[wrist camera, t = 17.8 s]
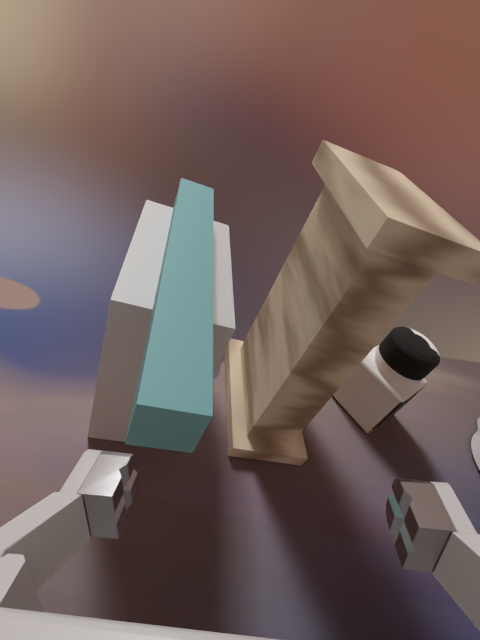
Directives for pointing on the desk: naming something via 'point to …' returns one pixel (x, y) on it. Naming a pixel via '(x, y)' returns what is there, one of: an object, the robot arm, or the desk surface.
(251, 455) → the birch shelf
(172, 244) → the teal rectangular bar
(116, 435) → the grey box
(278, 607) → the desk surface
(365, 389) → the medicine bottle
